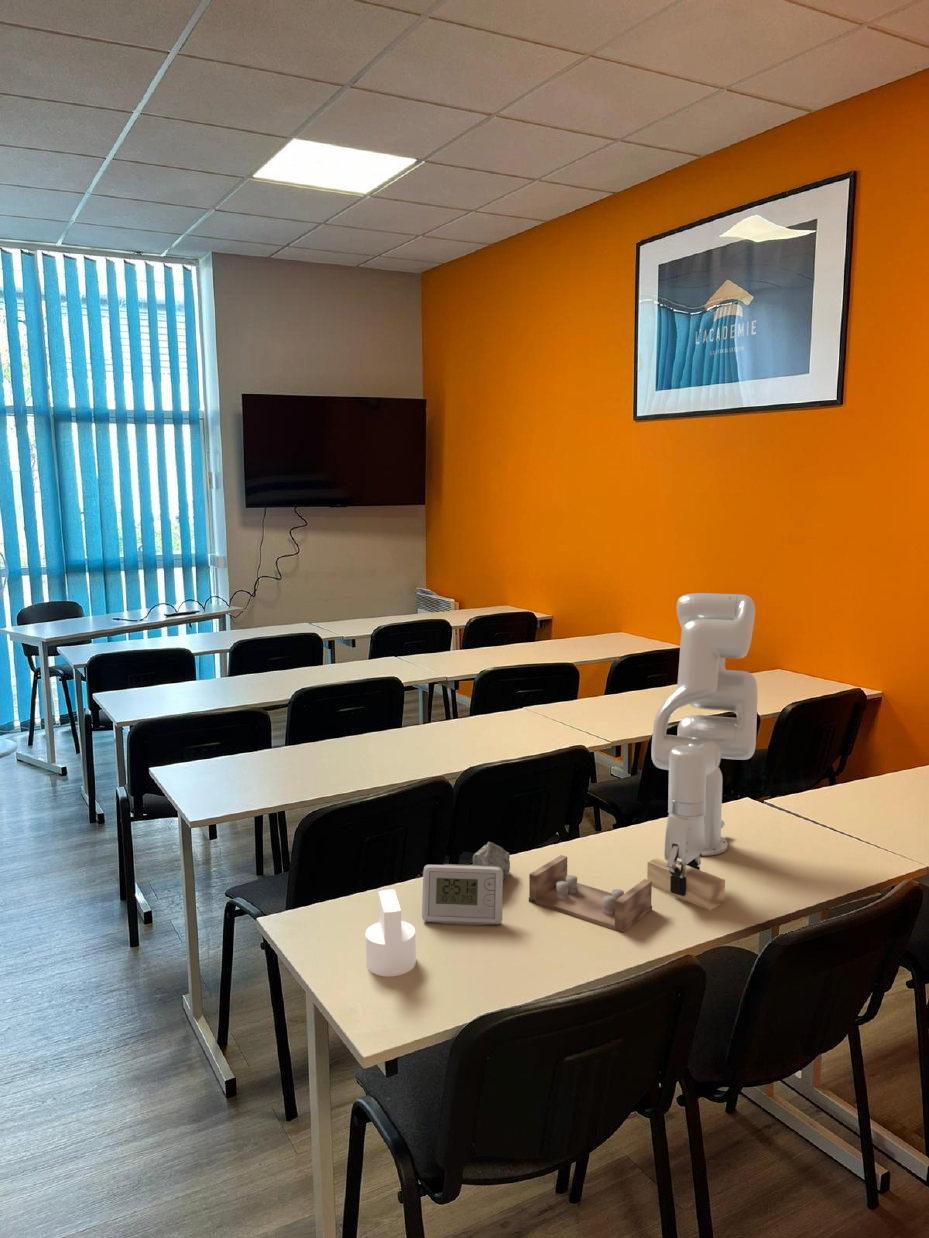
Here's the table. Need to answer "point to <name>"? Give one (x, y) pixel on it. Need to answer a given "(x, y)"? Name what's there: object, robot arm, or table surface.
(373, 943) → the base with upright slab
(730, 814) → the table surface
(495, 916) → the digital clock
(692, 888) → the board
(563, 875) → the peg cradle
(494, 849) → the mineral rock
